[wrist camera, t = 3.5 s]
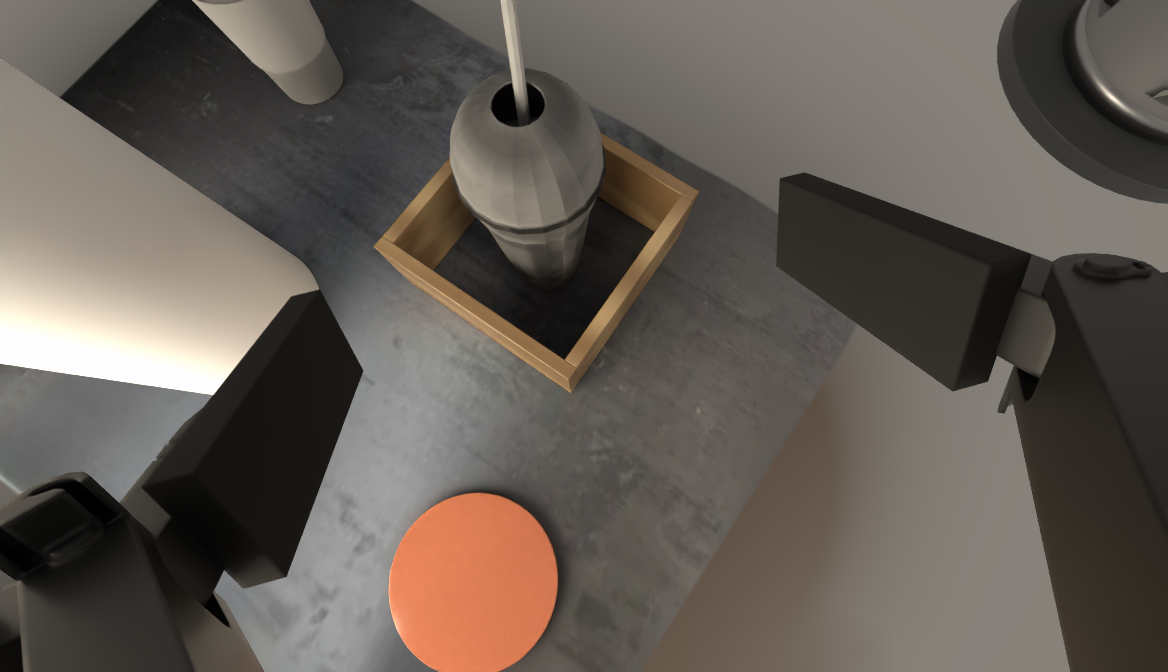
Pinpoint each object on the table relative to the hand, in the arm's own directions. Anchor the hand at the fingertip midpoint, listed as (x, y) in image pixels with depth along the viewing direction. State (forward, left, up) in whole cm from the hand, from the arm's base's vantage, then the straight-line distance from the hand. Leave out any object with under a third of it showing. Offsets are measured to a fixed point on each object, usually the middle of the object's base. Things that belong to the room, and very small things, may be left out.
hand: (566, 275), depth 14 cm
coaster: (+9, +11, -18) cm, 23 cm away
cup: (+14, -27, -19) cm, 36 cm away
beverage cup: (0, -8, -19) cm, 20 cm away
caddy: (0, -8, -18) cm, 20 cm away
